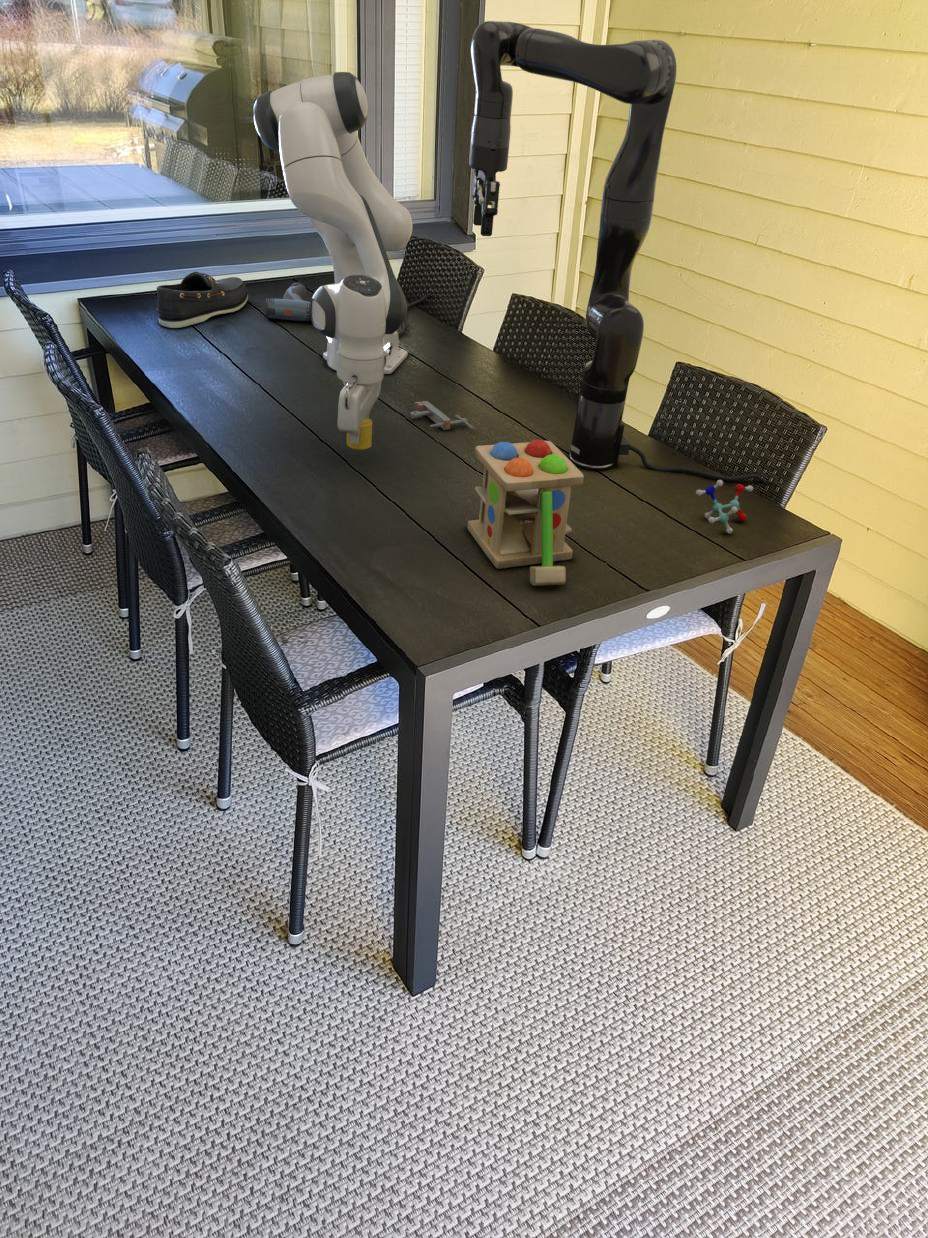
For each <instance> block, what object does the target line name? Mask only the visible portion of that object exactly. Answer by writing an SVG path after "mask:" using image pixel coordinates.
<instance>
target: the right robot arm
mask: <svg viewBox="0 0 928 1238" xmlns="http://www.w3.org/2000/svg"><path fill="white" fill-rule="evenodd" d="M470 58H471V66H472V72H473V73H472V74H473V80H474V86H475V98H474V108H473V109H474V112H473V120H472V123H471V130H470V142H469V143H470V144H469V156H468V166H469V167H470V169H473V170H474V171H473V172H474V175H473V185H472V195H471V198H472V203H473V205H474V206H473V217H472V223H473V225H474V226H478V227H480V235H481V236H482V237H491V236H492V235H493V229H494V228H493V227H494V217H495V216H497V215H498V213H499V210H498V209H499V197H500V187H501V183H500V181H498V180H497V173H502V172H505V171H506V170H507V169H508V162H509V154H510V153H509V152H510V141H511V134H512V133H511V131H512V129H511V127H512V126H511V122H512V121H511V120H512V119H511V117H512V110H513V109H512V108H513V99H514V96H513V95H514V89H513V86H512V84H511V83H509V82H507V81H505V80H504V79H503V77H502V68H501V67H503V66H504V67H508V66H509V67H516V68H520V69H521V70H522V71H524V72H526V73H530V74H532V75H537V76H541V77H545V78H551V79H556V80H562V81H568V82H571V83H576V84H578V85H582V86H584V87H588V88H590V89H593V90H595V91H597V92H599V93H601V94H603V95H605V96H608V97H609V98H612V99H614V100H616V101H618V102H621V103H622V104H627V105H629V113H628V120H627V125H626V130H625V134H624V137H623V140H622V142H621V144H620V146H619V149H618V151H617V153H616V155H615V157H614V159H613V161H612V163H611V166H610V168H609V170H608V173H607V175H606V178H605V179H604V184H603V190H602V198H601V205H600V214H599V227H598V228H599V229H598V237H597V245H596V259H595V267H594V273H593V279H592V283H591V288H590V291H589V292H590V293H589V298H588V301H587V306H586V312H585V326H586V329H587V331H588V333H589V334H590V336H591V337H592V338H593V340H595V346H594V351H593V357H592V360H589V361H588V362H586V363H585V364H584V366H583V370H582V375H581V382H580V389H579V396H578V401H577V402H578V403H577V408H576V414H575V420H574V428H573V434H572V441H571V445H570V452H569V456H568V459H569V460H570V461H571V462H572V463H573V464H574V465H575V466H576V467H577V466H578V467H579V468H583V469H587V470H592V471H604V470H609V469H610V468H616V467H618V462H619V457H620V456H628V455H629V452H630V451H632V452H634V453H635V454H637V455H638V456H639V457H640V459H641V462H642V465H643V466H645V467H646V468H647V469H649V470H652V471H659V472H669V473H670V472H671V473H672V472H673V473H675V472H681V473H688V474H694V475H698V476H702V477H705V478H711V479H715V480H722V481H726V482H737V481H743V480H748V479H756V480H758V481H759V482H761V483H762V484H768V481H767V480H766V479H765V478H764V477H763V478H762V479H761V476H762V475H760V474H757V473H747V474H743V475H738V476H728V475H727V476H726V475H720V474H716V473H712V472H706V471H703V470H699V469H694V468H689V467H681V466H673V467H661V466H657V465H656V466H655V465H653V464H651V463H649V462H648V461H647V458H646V456H645V453H643V451H642V450H640V449H639V448H637V447H635V446H634V445H631V444H630V442H629V441H628V440H627V438H626V437H625V435H624V430H625V422H624V421H623V416H624V411H625V406H626V400H627V394H628V388H629V384H630V379H631V377H632V375H633V373H634V372H635V369H636V367H637V364H638V359H639V354H640V351H641V346H642V341H643V337H644V331H645V329H644V328H645V322H644V317H643V314H642V313H641V311H640V310H639V309H638V308H637V307H636V306H635V305H633V304H632V303H630V284H631V275H632V271H633V266H634V264H635V260H636V258H637V256H638V254H639V252H640V250H641V249H642V246H643V244H644V243H645V241H646V238H647V236H648V233H649V231H650V227H651V224H652V219H653V218H652V217H653V211H654V203H655V196H656V185H657V178H658V171H659V165H660V161H661V151H662V144H663V138H664V133H665V128H666V124H667V120H668V116H669V111H670V107H671V102H672V99H673V94H674V90H675V85H676V80H677V71H678V70H677V68H678V65H677V58H676V55H675V52H674V49H673V48H672V47H671V46H670V45H669V43H668V42H666V41H664V40H661V39H647V40H632V41H629V42H626V43H616V44H596V43H589V42H585V41H582V40H580V39H578V38H576V37H574V36H572V35H570V34H566V33H563V32H559V31H554V30H548V29H543V28H536V27H535V28H534V27H531V26H529V25H526V24H523V23H519V22H513V21H502V20H501V21H498V20H497V21H496V20H486V21H483V22H481V23H480V24H478V25H477V27H476V28H475V29H474V32H473V34H472V38H471V42H470ZM489 206H490V207H489Z"/></svg>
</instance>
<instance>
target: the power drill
mask: <svg viewBox="0 0 928 1238" xmlns="http://www.w3.org/2000/svg"><path fill="white" fill-rule="evenodd" d="M307 295H308V290H307V287H306V285H304V284H303V283H301V282H293V283H292V284H291V285H290V286H289V287H288V288H287V289H286V291H285V292H284V294H283V297H282V298H266V299H265V302H264V313H265V314H264V316H265V318H267V319H274V320H275V319H276V320H283V321H294V322H295V321H297V322H312V320H311V301H307V300H305V299H306V297H307Z"/></svg>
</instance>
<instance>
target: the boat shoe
mask: <svg viewBox="0 0 928 1238" xmlns="http://www.w3.org/2000/svg"><path fill="white" fill-rule="evenodd" d="M156 293H157V294H156V295H157V305H156V306H157V308H156V309H155V311H156V313H158V323H159V325H160V326H162V327H166V328H169V329H170V328H171V329H178V328H185V327H188V326H189V327H190V326H192V325H196V324H199V323H203V322H205V321H206V320H209V318H211V317H214V316H218V315H222V314H228V313H234V312H236V311H239V310H240V309H242V308H243V307H244V306H245V305H246V304H247V303H248V301H249V292H248V290H247V286H246V284H245V283H244V281H243V280H242V278H240V277H236V276H231V277H225V278H220V279H217V280H216V279H215V278H214V277H213V276H212V275H210V274H207V273H204V272H199V271H192V272H190V273H188V274H187V275H185V276H184V278H183V279H182V280H181V282H180V283H174V284H162V285H158V286H157V287H156Z"/></svg>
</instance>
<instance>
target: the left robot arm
mask: <svg viewBox="0 0 928 1238" xmlns="http://www.w3.org/2000/svg"><path fill="white" fill-rule="evenodd" d="M367 98H368V97H367V94H366V91H365V89H364V87H363V86H362V84H361V82H360V81H359V79H358V77H357V76H356V75H354V74H353V73H351V72H350V71H335V72H334V73H333V74H325V75H318V76H313V77H308V78H304V79H301V80H300V81H296V82H293V83H290V84H287V85H285V86H282V87H280V88H278V89H275V90H268V91H266V92H264V93H262V94H261V95H259V96H258V97H256V100H255V102H254V104H253V122H254V126H255V130H256V132H257V134H258V136H259V138H260V139H261V141H262V143H263V145H264V146H265V147H267V148H269V149H270V150H271V151H274V152H279V156H280V163H281V170H282V175H283V179H284V184H285V187H286V191H287V195H288V198H289V199H290V201H291V203H292V204H293V206H294V207H295V208H296V209H297V210H298V211H299V212H301V213H302V214H304V215H305V216H306V217H308V218H309V220H310V223H311V225H312V227H313V229H314V230H315V231H316V232H317V233H318V235H319V236H320V238H321V239H322V241H323V243H324V245H325V247H326V249H327V252H328V254H329V257H330V260H331V264H332V269H333V276H334V278H333V279H334V283H329V284H325V285H320V286H319V287H318V288H317V289H316V290H315V292H314V293H313V295H312V297H311V299H310V302H311V320H312V321H311V324H312V326H313V327H314V328H315V329H316V330H317V331H318V332H319V333H321V334H322V335H323V336H325V337H326V339H327V346H326V347H327V348H326V351H324V352H323V353H322V358H323V359H324V360H326V362H327V363H326V365H327V366H328V367H329V368H330V369H332V370H334V371H336V376H337V378H338V379H339V380H340V381H342V383H343V387H342V389H341V390H340V392H339V396H338V405H337V422H336V423H337V425H336V426H337V429H338V431H339V432H341V433H342V432H343V433H346V434H347V433H349V442H350V443H351V444H358V443H359V441H360V433H359V428H360V426H361V424H362V423H363V421H364V419H365V418H369V419H370V413H371V410H372V408H373V407H374V405H375V403H376V402H377V401H378V399H379V397H380V394H381V390H382V382H383V380H384V376H385V375H389V374H392V373H393V372H394V371H395V370H396V369H397V368H398V367H399V366H400V365H401V364H402V363H403V361H405V360H406V359H407V357H408V356H409V354H408V353H409V351H407V350H405V349H403V348H401V347H399V345H400V344H399V343H400V342H399V341H400V340H399V339H400V337H401V336H402V335H403V334H404V333H405V332H406V330H407V326H406V317H407V314H408V309H409V308H411V307H413V306H415V305H417V304H420V303H422V302H423V301H425V300H426V299H427V298H428V297H427V295H426V294H425V295H423V296H422V297H421V298H419V299H418V300H415V301H413V302H410V303H407V298H406V296H405V294H404V291H403V289H402V287H401V284H400V283H399V282H398V279H397V278H396V275H395V273H394V270H393V268H392V265H391V261H390V259H389V256H388V254H387V253H388V252H391V253H392V252H399V251H401V250H403V249H404V248H405V247H406V246H407V244H408V243H409V242H410V239H411V237H412V233H413V221H412V220H413V219H412V215H411V213H410V211H409V209H408V208H406V207H405V206H404V205H402V203H400V202H399V201H397V200H396V198H394V197H393V196H392V195H391V194H390V193H389V191H388V190H387V189H386V188H385V187H384V185H383V184H382V183H381V181H380V180H379V179H378V177H377V176H376V174H375V173H374V171H373V170H372V168H371V166H370V164H369V162H368V160H367V157H366V155H365V152H364V149H363V147H362V144H361V141H360V139H359V135H358V132H357V131H359V130H361V129H362V128H363V127H364V126H365V124H366V122H367V120H368V109H369V108H368V99H367ZM429 297H430V298H431V299H432V298H434V295H432V296H431V295H430V296H429ZM401 326H402V329H401V331H399V332H398V330H399V328H400V327H401Z"/></svg>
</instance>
